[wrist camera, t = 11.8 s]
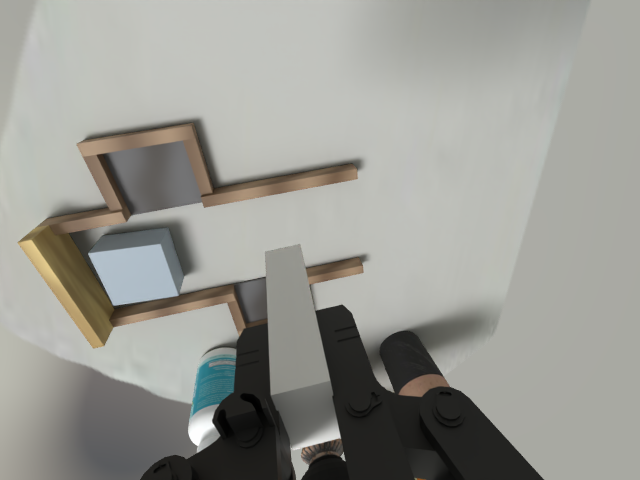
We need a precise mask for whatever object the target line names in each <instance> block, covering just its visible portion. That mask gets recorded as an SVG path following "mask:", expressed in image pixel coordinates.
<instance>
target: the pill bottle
mask: <svg viewBox="0 0 640 480" xmlns="http://www.w3.org/2000/svg"><path fill="white" fill-rule="evenodd" d="M235 364H236V349H234V348H218V349H214V350H212V351H210V352H208V353H206V354H205V355H204V356H203V357H202V358H201V360H200V362H199V364H198V369H197V375H196V382H195V388H194V395H193V401H192V408H191V414H190V420H189V428H188V432H189V436H190V439H191V440H192V442H193V443H194V444H196V445H197V446H198V448H197V453H198V452H200V451H201V450H203V449H205V448H206V447H208V446H209V445H211V444H212V443H213V442H215V441H216V440H217V439H218V438H219V437H220V434H219V433H218V431H217V429H216V428H215V426H214V424H213V423H212V419H213V416H214V412H215V410H216V409H217V407H218V406H219V404H220V403H221V401H222V400H223V399H225V398H226V397H227V396H228V395H230V394H231V393H233V392H234V378H235V369H236V367H235Z"/></svg>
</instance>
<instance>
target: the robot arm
mask: <svg viewBox="0 0 640 480" xmlns="http://www.w3.org/2000/svg"><path fill="white" fill-rule="evenodd" d="M265 262H266V287H267V313H268V323H266V324H261V325H257V326H253V327H249V328H244V329H243V331H242V333H241V335H240V337H239V339H238V341H237V349H236V364H235V367H236V369H235V378H234V392H233V393H231V394H230V395H228V396H227V397H226V398H225V399H223V400H222V401H221V403H220V404H219V406H218V407H217V409H216V410H215V412H214V416H213V419H212V423H213V424H214V426H215V428H216V429H217V431H218V433H219V434H220V437H219V438H218V439H217V440H216V441H215V442H213V443H212V444H211V445H209V446H208V447H206V448H205V449H203V450H201V451H200V452H198V453H196V454H195V455H193V456H191V457H190V458H188V459H185V458H184V457H181V456H178V455H173V456H169V457H164V458H163V459H161V460H159V461H158V462H156V463H154V464H153V465H152V466H151V467H150V468H149V469H148V470H147V471H146V472H145V473H144V474H143V476H142V478H141V479H140V480H296V475H295V471H294V467H293V464H292V462H291V450H290V445H291V448H292V450H296V449H300V448H304V447H308V446H312V445H315V444H319V443H323V442H327V441H331V440H335V439H338V438H341V441H342V446H343V451H344V455H345V460H346V465H347V470H348V474H349V479H350V480H415V478H419V479H426V480H544V479H543V478H542V477H541V476H540V475H539V474H538V473H537V472H536V471H535V469H534V468H533V467H532V466H531V465H530V464H529V463H528V462H527V461H526V460H525V459H524V457H523V456H522V455H521V454H520V453H519V452H518V451H517V450H516V449H515V448H514V446H513V445H512V444H511V443H510V442H509V441H508V440H507V439H506V438H505V437H504V436H503V434H502V433H501V432H500V431H499V430H498V429H497V428H496V427H495V426H494V425H493V423H492V422H491V421H490V420H489V419H488V418H487V417H486V416H485V415H484V414H483V413H482V412H481V411H480V409H479V408H478V407H477V406H476V405H475V404H474V403H473V402H472V401H471V399H470V398H468V397H467V396H466V395H465V394H463V393H462V392H461V391H459V390H456V389H454V388H451V387H444V386H438V387H435V388H431V389H429V390H428V391H427V392H426V393H425V394H424V395H423V396H422V397H417V396H405V395H399V394H395V393H392V392H390V391H388V390H386V389H385V388H384V387H382V386H381V385H380V384H379V382H378V381H377V380H376V378H375V376H374V374H373V371H372V368H371V366H370V363H369V360H368V357H367V354H366V352H365V349H364V346H363V343H362V340H361V338H360V335H359V332H358V329H357V327H356V324H355V321H354V318H353V315H352V313H351V312H350V311H349V310H348V309H347V308H346V307H345V306H343V305H339V306H334V307H330V308H326V309H322V310H317V311H315V309H314V304H313V300H312V295H311V291H310V286H309V282H308V277H307V272H306V268H305V263H304V259H303V254H302V250H301V245H300V244H298V245H294V246H289V247H285V248H280V249H276V250H271V251H267V252H265Z"/></svg>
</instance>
